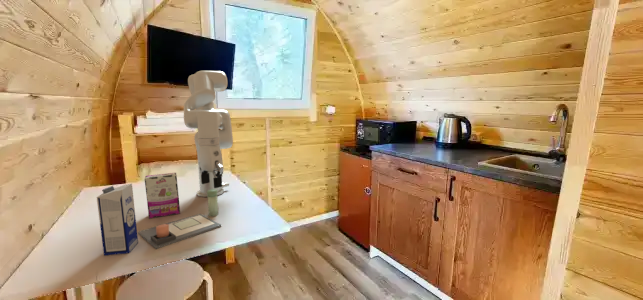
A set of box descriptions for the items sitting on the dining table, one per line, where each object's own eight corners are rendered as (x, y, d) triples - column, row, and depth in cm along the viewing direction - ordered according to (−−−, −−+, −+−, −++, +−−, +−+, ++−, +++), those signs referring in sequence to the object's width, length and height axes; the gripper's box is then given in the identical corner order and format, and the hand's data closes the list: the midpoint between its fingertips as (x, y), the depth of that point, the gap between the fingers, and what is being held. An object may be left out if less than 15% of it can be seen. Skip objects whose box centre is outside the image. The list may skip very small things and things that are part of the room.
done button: (166, 231, 97) (165, 223, 96) (171, 234, 94) (170, 226, 94) (154, 235, 94) (154, 226, 94) (159, 238, 92) (158, 229, 91)
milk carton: (129, 253, 87) (121, 189, 84) (103, 255, 86) (95, 190, 82) (138, 242, 94) (132, 182, 91) (115, 244, 93) (107, 183, 89)
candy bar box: (179, 209, 122) (176, 172, 120) (180, 213, 118) (177, 174, 115) (149, 214, 117) (145, 175, 115) (148, 218, 113) (144, 177, 110)
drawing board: (200, 215, 116) (200, 210, 116) (221, 226, 106) (220, 221, 106) (138, 233, 100) (138, 228, 100) (156, 248, 90) (155, 243, 89)
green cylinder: (215, 212, 120) (214, 188, 119) (220, 214, 118) (218, 190, 116) (206, 214, 117) (205, 190, 116) (211, 217, 115) (209, 192, 113)
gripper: (229, 143, 110) (232, 187, 112) (207, 140, 121) (209, 180, 123) (211, 144, 104) (213, 191, 106) (189, 141, 115) (192, 183, 118)
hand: (211, 185), depth 115 cm, fingers open, 9 cm apart
